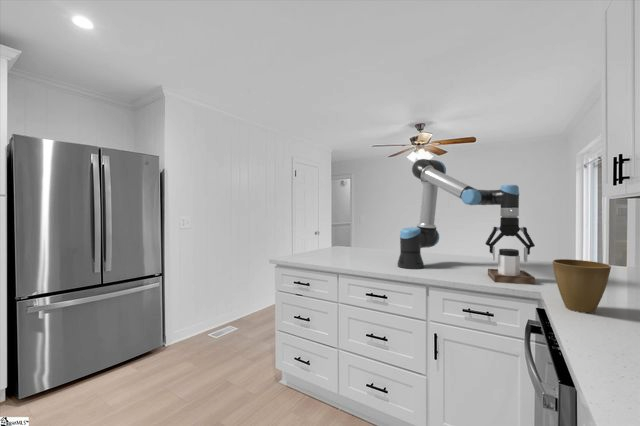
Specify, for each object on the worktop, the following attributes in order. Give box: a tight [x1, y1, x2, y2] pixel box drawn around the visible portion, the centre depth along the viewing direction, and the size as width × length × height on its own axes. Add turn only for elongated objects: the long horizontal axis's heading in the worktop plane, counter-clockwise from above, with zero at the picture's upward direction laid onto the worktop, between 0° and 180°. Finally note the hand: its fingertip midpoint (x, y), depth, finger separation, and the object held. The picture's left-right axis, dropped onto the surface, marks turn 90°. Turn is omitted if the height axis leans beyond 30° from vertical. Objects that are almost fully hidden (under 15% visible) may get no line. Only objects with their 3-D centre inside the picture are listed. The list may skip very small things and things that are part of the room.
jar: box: [497, 248, 521, 276], centre depth 145 cm, size 9×8×12 cm
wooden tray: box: [487, 268, 536, 286], centre depth 145 cm, size 16×16×3 cm
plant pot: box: [552, 258, 612, 313], centre depth 101 cm, size 15×15×16 cm
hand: (509, 260), depth 145 cm, fingers open, 13 cm apart
